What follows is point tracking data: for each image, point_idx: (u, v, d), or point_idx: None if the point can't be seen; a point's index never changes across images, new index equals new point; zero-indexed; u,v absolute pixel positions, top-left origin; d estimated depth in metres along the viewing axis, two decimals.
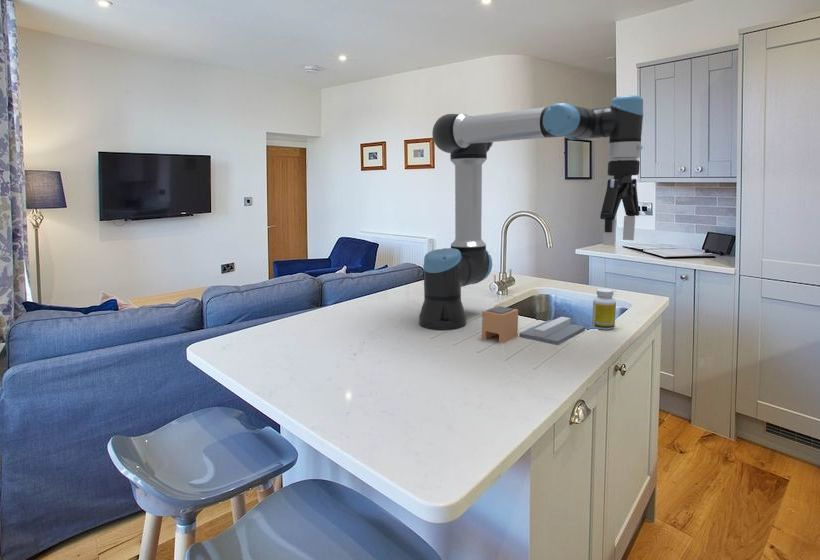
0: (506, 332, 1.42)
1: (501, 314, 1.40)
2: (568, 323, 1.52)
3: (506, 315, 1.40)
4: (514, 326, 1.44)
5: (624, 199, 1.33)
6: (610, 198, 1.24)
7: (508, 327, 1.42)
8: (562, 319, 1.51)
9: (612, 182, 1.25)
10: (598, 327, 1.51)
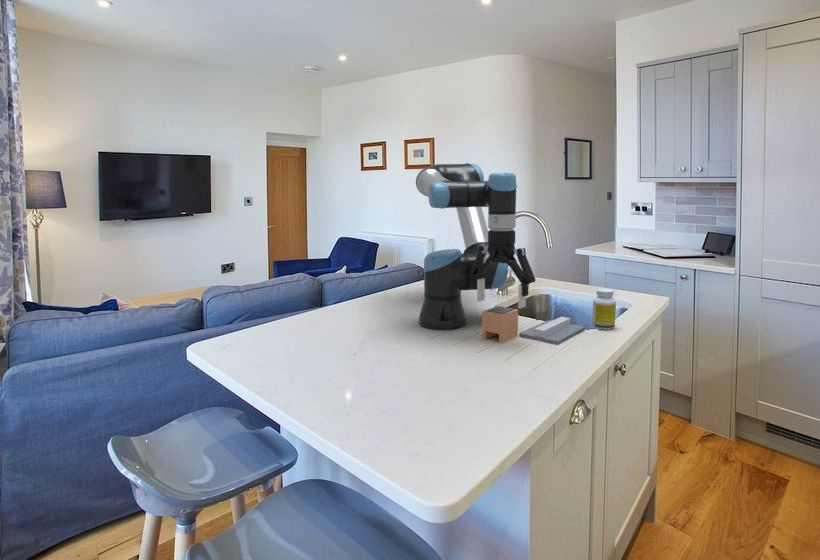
0: (506, 332, 1.42)
1: (501, 314, 1.40)
2: (568, 323, 1.52)
3: (506, 315, 1.40)
4: (514, 326, 1.44)
5: None
6: None
7: (508, 327, 1.42)
8: (562, 319, 1.51)
9: None
10: (598, 327, 1.51)
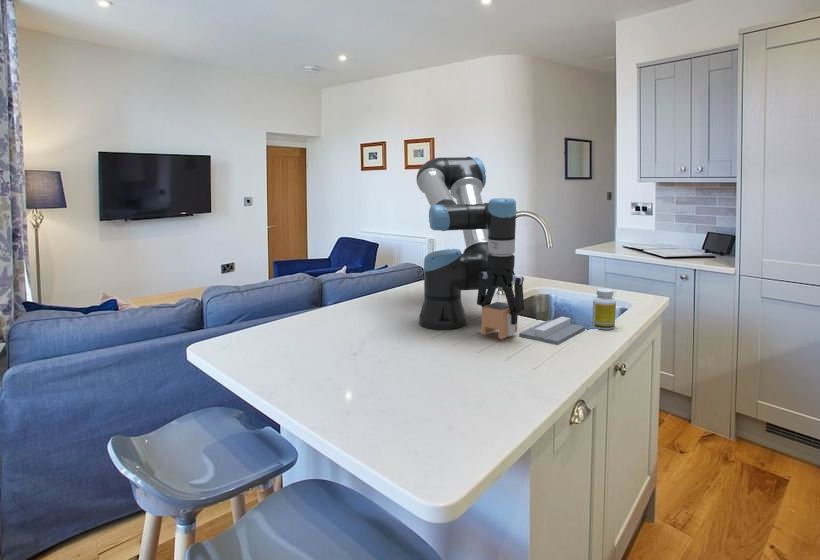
0: (506, 328, 1.42)
1: (501, 310, 1.40)
2: (568, 323, 1.52)
3: (506, 311, 1.40)
4: None
5: None
6: None
7: (507, 323, 1.42)
8: (562, 319, 1.51)
9: None
10: (598, 327, 1.51)
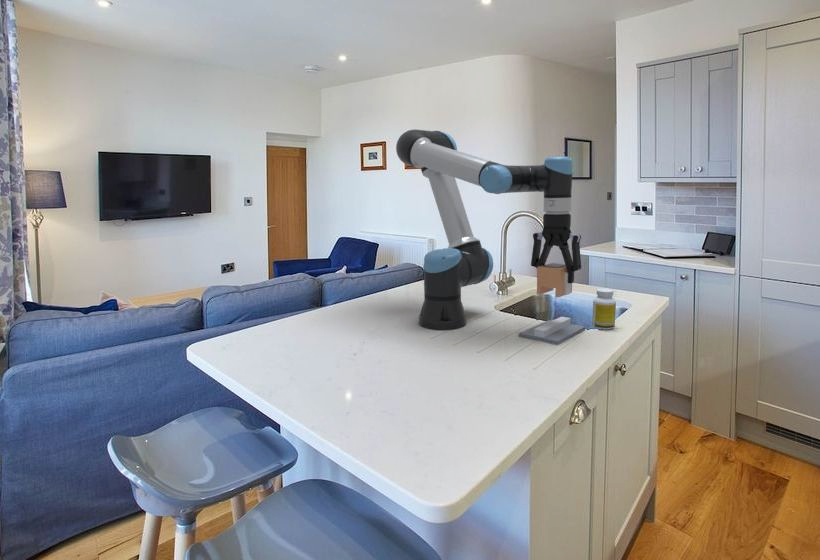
0: (562, 287, 1.42)
1: (558, 268, 1.40)
2: (568, 323, 1.52)
3: (562, 269, 1.40)
4: None
5: None
6: None
7: None
8: (562, 319, 1.51)
9: None
10: (598, 327, 1.51)
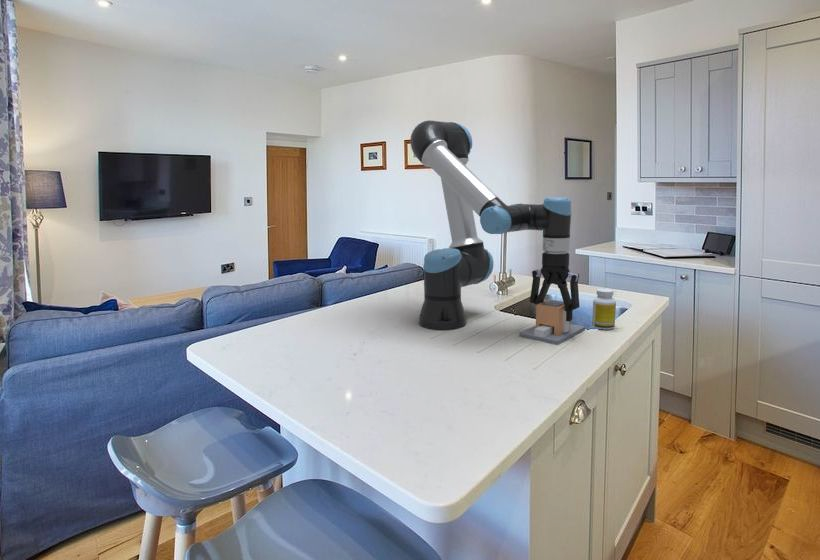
0: (561, 325, 1.44)
1: (556, 307, 1.42)
2: None
3: (561, 308, 1.43)
4: None
5: None
6: None
7: (562, 320, 1.44)
8: None
9: None
10: (598, 327, 1.51)
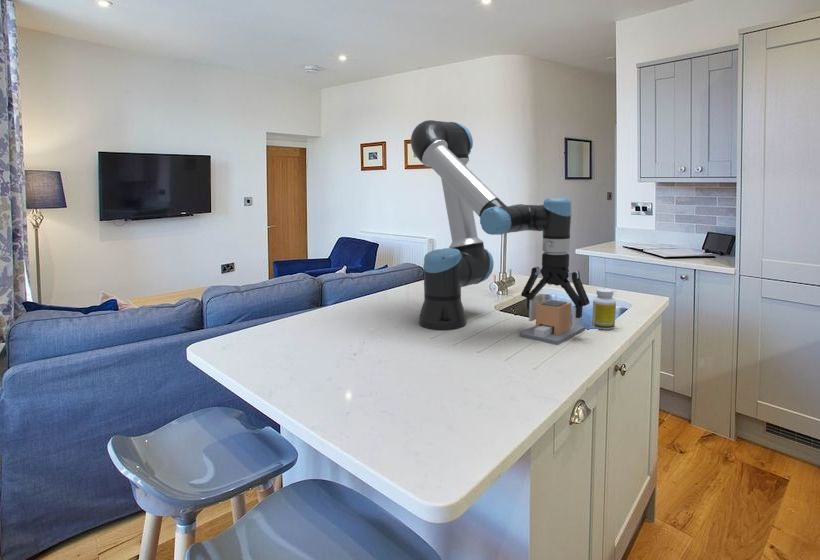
0: (561, 325, 1.44)
1: (556, 307, 1.42)
2: None
3: (561, 308, 1.43)
4: (567, 319, 1.47)
5: None
6: None
7: (562, 320, 1.44)
8: None
9: None
10: (598, 327, 1.51)
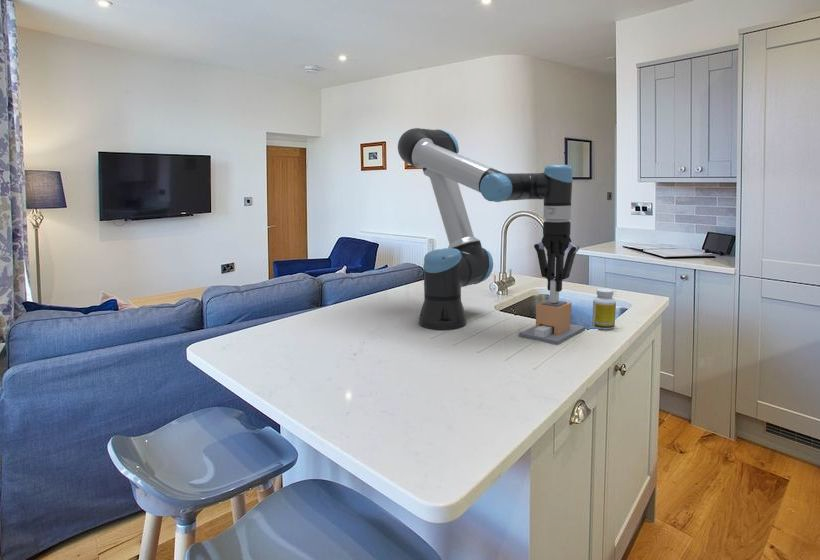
0: (561, 325, 1.44)
1: (556, 307, 1.42)
2: None
3: (561, 308, 1.43)
4: (567, 319, 1.47)
5: None
6: None
7: (562, 320, 1.44)
8: None
9: None
10: (598, 327, 1.51)
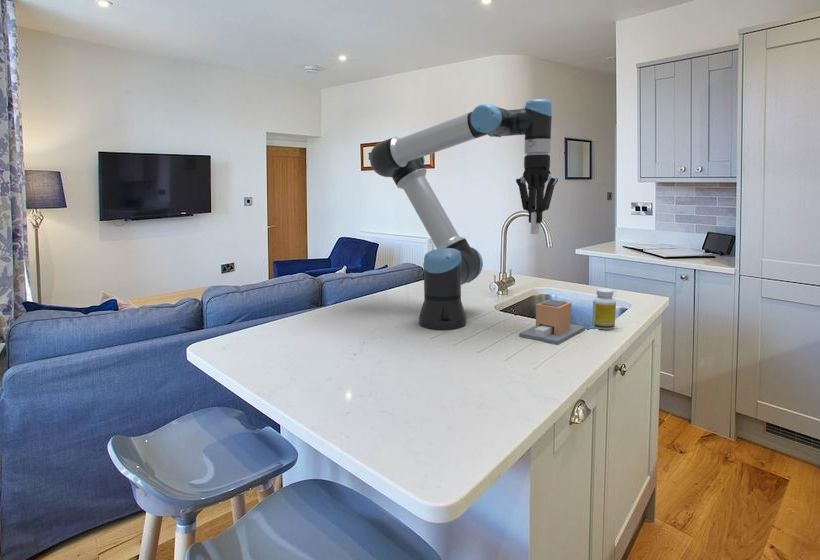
0: (561, 325, 1.44)
1: (556, 307, 1.42)
2: None
3: (561, 308, 1.43)
4: (567, 319, 1.47)
5: None
6: None
7: (562, 320, 1.44)
8: None
9: None
10: (598, 327, 1.51)
